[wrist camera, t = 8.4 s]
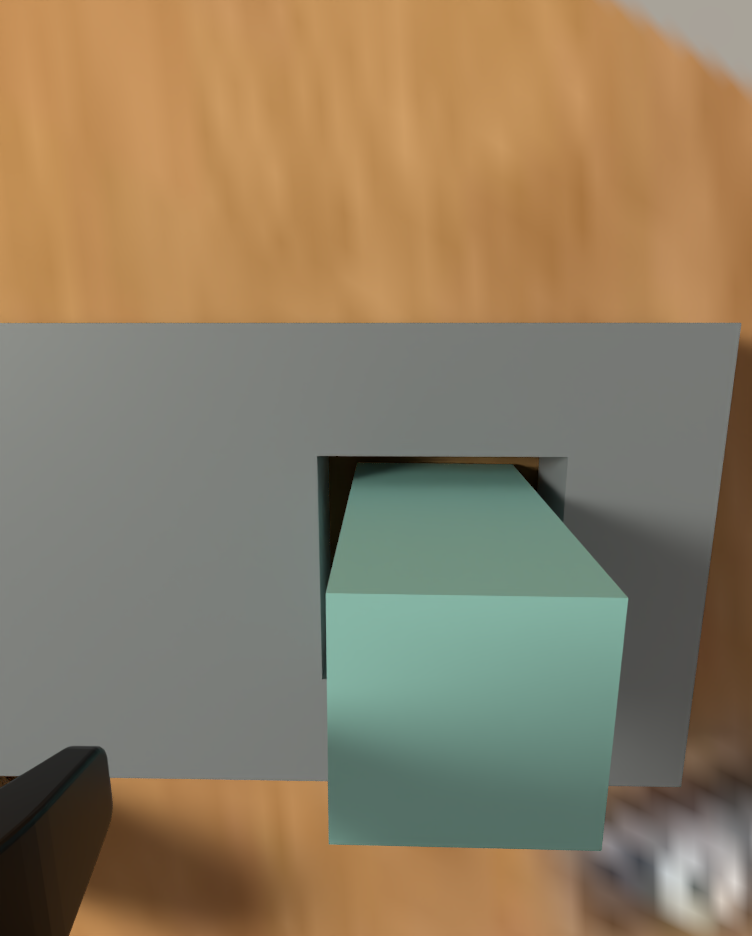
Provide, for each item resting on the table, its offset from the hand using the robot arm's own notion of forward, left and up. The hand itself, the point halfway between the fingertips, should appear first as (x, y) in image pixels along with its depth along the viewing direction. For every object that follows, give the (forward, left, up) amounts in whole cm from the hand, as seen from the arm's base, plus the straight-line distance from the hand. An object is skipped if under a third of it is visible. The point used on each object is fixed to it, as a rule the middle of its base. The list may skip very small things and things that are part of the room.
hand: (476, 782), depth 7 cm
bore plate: (0, +4, -9) cm, 10 cm away
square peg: (0, 0, -9) cm, 9 cm away
